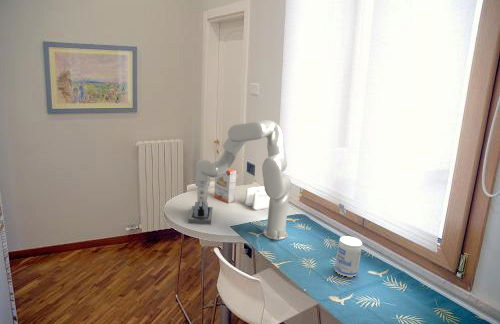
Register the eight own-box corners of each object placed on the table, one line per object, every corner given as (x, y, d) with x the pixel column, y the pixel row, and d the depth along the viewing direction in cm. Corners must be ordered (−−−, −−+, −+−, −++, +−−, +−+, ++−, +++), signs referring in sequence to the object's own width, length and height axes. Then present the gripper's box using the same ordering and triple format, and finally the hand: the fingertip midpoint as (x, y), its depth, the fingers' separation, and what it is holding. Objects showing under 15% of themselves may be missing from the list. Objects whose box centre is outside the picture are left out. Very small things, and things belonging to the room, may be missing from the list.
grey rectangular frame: (210, 224, 196) (211, 220, 195) (188, 223, 195) (188, 219, 195) (212, 211, 215) (212, 206, 215) (191, 209, 215) (191, 205, 214)
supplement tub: (332, 274, 155) (336, 242, 152) (336, 264, 164) (341, 233, 160) (355, 280, 151) (360, 247, 148) (359, 270, 160) (364, 239, 157)
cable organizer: (264, 202, 237) (266, 185, 234) (274, 208, 228) (276, 190, 225) (244, 205, 228) (246, 187, 226) (254, 211, 220) (255, 193, 217)
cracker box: (213, 197, 239) (215, 166, 234) (220, 195, 243) (222, 165, 238) (227, 203, 229) (229, 171, 225) (234, 202, 234) (237, 170, 229)
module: (207, 217, 203) (207, 205, 201) (194, 216, 202) (194, 204, 201) (207, 214, 208) (208, 202, 206) (195, 213, 207) (195, 201, 206)
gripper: (208, 187, 193) (207, 220, 197) (210, 178, 209) (208, 209, 213) (194, 187, 192) (192, 219, 196) (197, 178, 209) (195, 208, 213)
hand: (201, 213), depth 205 cm, fingers closed on module, 4 cm apart
